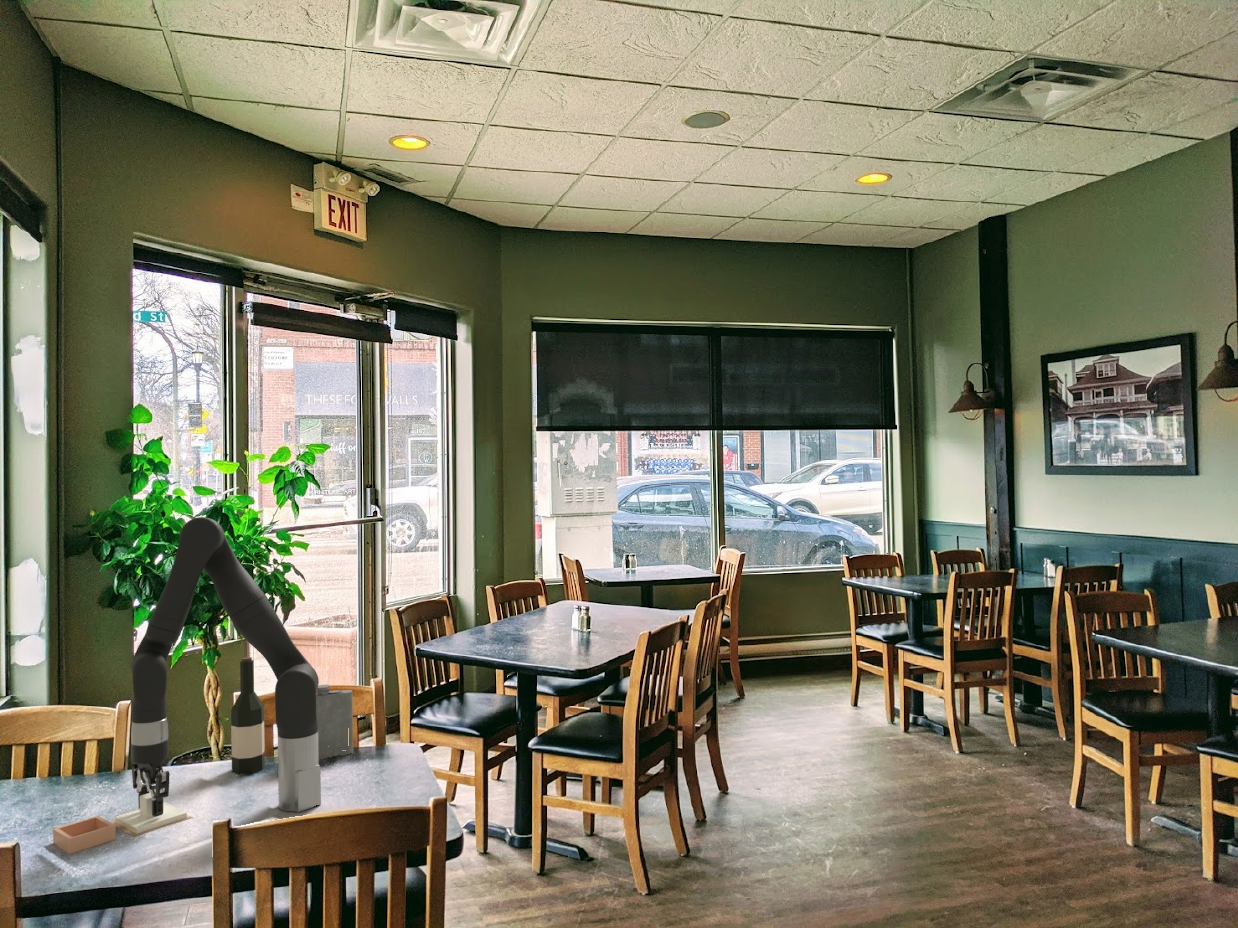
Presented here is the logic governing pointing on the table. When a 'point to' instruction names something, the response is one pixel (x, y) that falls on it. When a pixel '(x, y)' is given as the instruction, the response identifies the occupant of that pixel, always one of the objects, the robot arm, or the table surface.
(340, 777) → the table surface
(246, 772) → the wine bottle
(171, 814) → the lid
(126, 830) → the mat
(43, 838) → the table surface
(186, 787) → the table surface
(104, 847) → the table surface
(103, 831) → the dish
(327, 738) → the hip flask
